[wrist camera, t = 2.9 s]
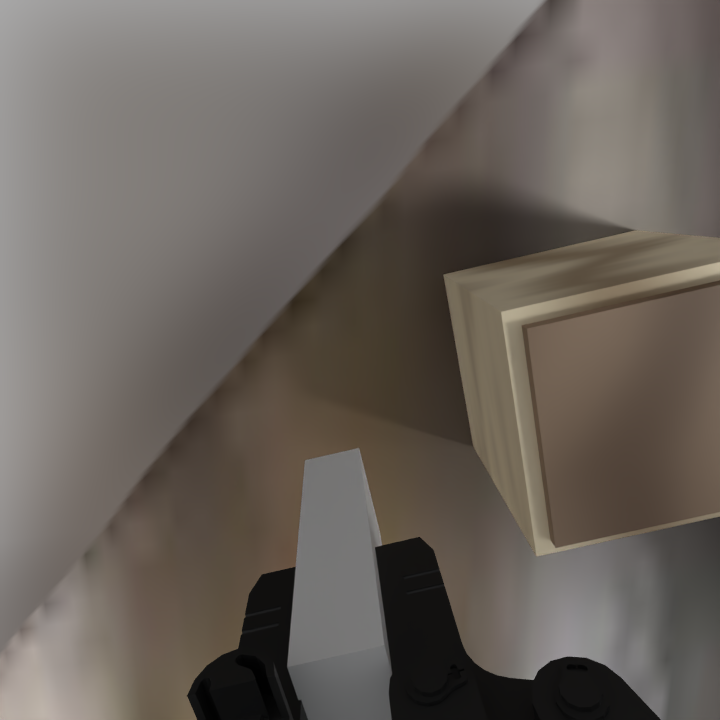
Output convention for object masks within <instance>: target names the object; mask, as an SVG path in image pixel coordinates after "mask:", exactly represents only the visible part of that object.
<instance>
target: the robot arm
mask: <svg viewBox="0 0 720 720" xmlns="http://www.w3.org/2000/svg"><path fill="white" fill-rule="evenodd" d="M245 615H246V618H244V623H243V628H242V635H241V638H240V643H239V648H238V649H236V650H234V651H231V652H229V653H226V654H223V655H221V656H220V657H219V658H217V659H216V660H214V661H213V662H211V663H210V664H209V665H207V666H206V667H205V669H204V670H203V671H202V672H201V673H200V674H199V675H198V677H197V678H196V679H195V680H194V682H193V684H192V687H191V689H190V691H189V693H188V695H187V696H188V699H189V701H190V703H191V706H192V708H193V710H194V713H195V715H196V717H197V720H661V719H660V718H659V717H658V716H657V715H656V714H655V713H654V712H653V711H652V710H651V709H650V708H649V707H648V706H647V705H646V704H645V703H644V702H643V700H642V699H641V698H640V697H639V696H638V695H637V694H636V693H635V692H634V691H633V690H632V689H631V688H630V687H629V686H628V685H627V684H626V682H625V681H624V680H623V679H622V678H621V677H619V676H618V675H617V674H616V673H614V672H613V671H612V670H610V669H609V668H608V667H607V666H605V665H603V664H601V663H598V662H595V661H593V660H590V659H588V658H580V657H564V658H560V659H557V660H553V661H550V662H549V663H548V664H546V665H545V666H544V667H543V668H541V669H540V670H539V671H538V673H537V675H536V677H535V679H534V680H526V679H515V678H507V677H502V676H497V675H495V674H492V673H490V672H488V671H485V670H484V669H482V668H481V667H480V666H478V665H477V664H475V663H474V662H473V661H472V659H471V658H470V657H469V656H468V655H467V653H466V651H465V649H464V647H463V645H462V642H461V639H460V635H459V632H458V629H457V625H456V622H455V619H454V616H453V612H452V609H451V606H450V602H449V599H448V596H447V592H446V589H445V587H444V583H443V579H442V576H441V573H440V570H439V566H438V563H437V560H436V556H435V553H434V550H433V549H432V548H431V547H430V546H429V545H428V544H427V543H425V542H424V541H423V540H422V539H421V538H420V537H418V538H413V539H409V540H404V541H400V542H396V543H391V544H387V545H382V542H381V536H380V531H379V526H378V522H377V518H376V514H375V510H374V506H373V502H372V498H371V494H370V490H369V486H368V482H367V478H366V474H365V470H364V466H363V462H362V458H361V454H360V450H359V448H357V449H352V450H348V451H344V452H339V453H335V454H331V455H326V456H322V457H318V458H313V459H309V460H305V467H304V478H303V490H302V501H301V513H300V525H299V536H298V548H297V559H296V567H293V568H289V569H284V570H280V571H276V572H271V573H267V574H262V575H261V577H260V578H259V580H258V581H257V583H256V584H255V586H254V587H253V589H252V590H251V592H250V593H249V598H248V603H247V608H246V613H245Z"/></svg>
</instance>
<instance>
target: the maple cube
mask: <svg viewBox="0 0 720 720" xmlns="http://www.w3.org/2000/svg"><path fill="white" fill-rule="evenodd" d="M443 275H444V281H445V287H446V293H447V298H448V304H449V310H450V316H451V321H452V327H453V333H454V339H455V344H456V350H457V356H458V362H459V367H460V373H461V379H462V384H463V390H464V396H465V402H466V407H467V413H468V419H469V425H470V430H471V436H472V442H473V447H474V449H475V451H476V452H477V454H478V456H479V457H480V459H481V461H482V463H483V464H484V466H485V468H486V470H487V471H488V473H489V475H490V477H491V478H492V480H493V482H494V484H495V485H496V487H497V489H498V491H499V492H500V494H501V496H502V497H503V499H504V501H505V503H506V504H507V506H508V508H509V510H510V511H511V513H512V515H513V517H514V518H515V520H516V522H517V524H518V525H519V527H520V529H521V531H522V532H523V534H524V536H525V538H526V539H527V541H528V543H529V544H530V546H531V548H532V550H533V551H534V553H535V555H536V557H537V556H542V555H547V554H551V553H556V552H560V551H565V550H569V549H574V548H578V547H583V546H588V545H592V544H597V543H601V542H606V541H610V540H615V539H619V538H624V537H629V536H633V535H638V534H642V533H647V532H651V531H656V530H660V529H665V528H669V527H674V526H679V525H683V524H688V523H692V522H697V521H701V520H706V519H710V518H715V517H720V238H715V237H704V236H692V235H681V234H670V233H659V232H648V231H637V230H635V231H630V232H626V233H622V234H617V235H613V236H609V237H604V238H600V239H596V240H591V241H587V242H583V243H578V244H574V245H569V246H565V247H561V248H556V249H552V250H548V251H543V252H539V253H535V254H530V255H526V256H522V257H517V258H513V259H508V260H504V261H500V262H495V263H491V264H487V265H482V266H478V267H474V268H469V269H465V270H461V271H456V272H452V273H447V274H443Z"/></svg>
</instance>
